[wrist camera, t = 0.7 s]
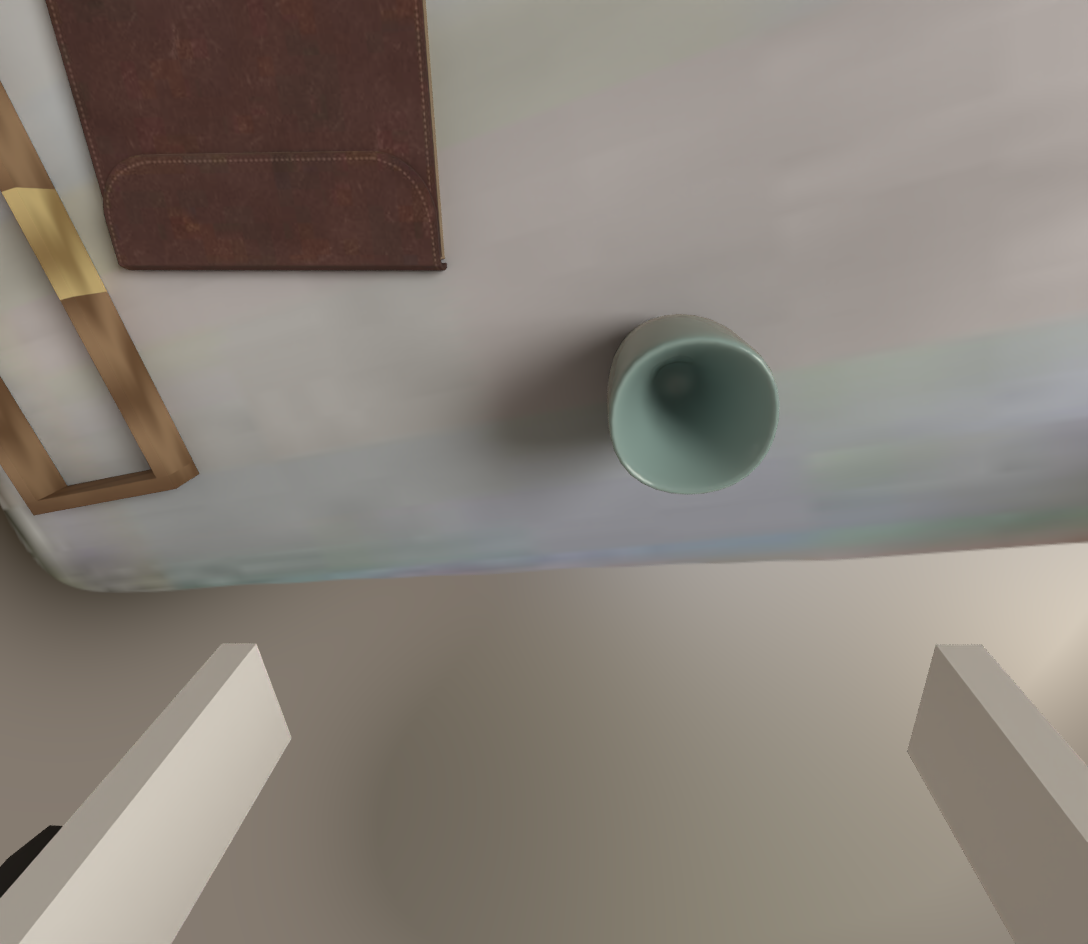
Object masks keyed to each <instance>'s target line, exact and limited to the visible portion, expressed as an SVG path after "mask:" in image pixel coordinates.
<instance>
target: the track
mask: <svg viewBox="0 0 1088 944" xmlns="http://www.w3.org/2000/svg"><path fill="white" fill-rule="evenodd" d="M0 190H1V192H2V194H3V195H4V197H5V199H6V201H7V203H8V205H9V207H10V208H11V210H12V212H13V214H14V216H15V218H16V220H17V221H18V223H19V225H20V227H21V229H22V231H23V232H24V234H25V236H26V238H27V240H28V242H29V244H30V245H31V247H32V249H33V251H34V253H35V255H36V256H37V258H38V260H39V262H40V264H41V266H42V268H43V269H44V271H45V273H46V275H47V277H48V279H49V281H50V282H51V284H52V286H53V288H54V290H55V292H56V293H57V295H58V297H59V299H60V301H61V303H62V305H63V306H64V308H65V310H66V312H67V314H68V316H69V317H70V319H71V321H72V323H73V325H74V327H75V329H76V330H77V332H78V334H79V336H80V338H81V340H82V342H83V343H84V345H85V347H86V349H87V351H88V353H89V354H90V356H91V358H92V360H93V362H94V364H95V366H96V367H97V369H98V371H99V373H100V375H101V377H102V378H103V380H104V382H105V384H106V386H107V388H108V390H109V391H110V393H111V395H112V397H113V399H114V401H115V403H116V404H117V406H118V408H119V410H120V412H121V414H122V415H123V417H124V419H125V421H126V423H127V425H128V427H129V428H130V430H131V432H132V434H133V436H134V438H135V439H136V441H137V443H138V445H139V447H140V449H141V451H142V452H143V454H144V456H145V458H146V460H147V462H148V464H149V465H150V467H151V470H146V471H141V472H136V473H131V474H126V475H121V476H115V477H110V478H105V479H100V480H95V481H90V482H85V483H80V484H74V485H69V486H67V485H66V483H65V482H64V480H63V478H62V477H61V475H60V473H59V472H58V470H57V468H56V467H55V465H54V464H53V462H52V460H51V459H50V457H49V455H48V454H47V452H46V451H45V449H44V447H43V446H42V444H41V442H40V441H39V439H38V437H37V436H36V434H35V433H34V431H33V429H32V428H31V426H30V424H29V423H28V421H27V419H26V418H25V416H24V415H23V413H22V411H21V410H20V408H19V406H18V405H17V403H16V401H15V400H14V398H13V397H12V395H11V393H10V392H9V390H8V388H7V387H6V385H5V384H4V382H3V380H2V379H1V377H0V464H1V466H2V468H3V469H4V471H5V472H6V474H7V475H8V477H9V478H10V480H11V481H12V483H13V484H14V486H15V487H16V489H17V491H18V492H19V494H20V495H21V497H22V498H23V500H24V501H25V503H26V504H27V506H28V507H29V509H30V510H31V512H32V514H33V515H38V514H43V513H49V512H54V511H59V510H65V509H70V508H76V507H81V506H86V505H92V504H97V503H102V502H108V501H113V500H118V499H124V498H129V497H134V496H140V495H145V494H150V493H156V492H161V491H167V490H172V489H176V488H178V487H179V486H181V485H183V484H184V483H186V482H187V481H189V480H190V479H192V478H193V477H195V476H197V475H198V474H199V472H198V470H197V468H196V466H195V464H194V462H193V460H192V458H191V456H190V454H189V452H188V450H187V448H186V446H185V444H184V442H183V441H182V439H181V437H180V435H179V433H178V431H177V429H176V427H175V425H174V423H173V421H172V419H171V417H170V415H169V413H168V411H167V409H166V407H165V405H164V403H163V401H162V399H161V397H160V395H159V393H158V391H157V389H156V387H155V385H154V383H153V381H152V379H151V377H150V375H149V373H148V371H147V369H146V367H145V366H144V364H143V362H142V360H141V358H140V356H139V354H138V352H137V350H136V348H135V346H134V344H133V342H132V340H131V338H130V336H129V334H128V332H127V330H126V328H125V326H124V324H123V322H122V320H121V318H120V316H119V314H118V312H117V310H116V308H115V306H114V304H113V302H112V300H111V298H110V296H109V294H108V293H107V291H106V289H105V287H104V285H103V283H102V281H101V279H100V277H99V275H98V273H97V271H96V269H95V267H94V265H93V263H92V261H91V259H90V257H89V255H88V253H87V251H86V249H85V247H84V245H83V243H82V241H81V239H80V237H79V235H78V233H77V231H76V229H75V227H74V225H73V223H72V221H71V220H70V218H69V216H68V214H67V212H66V210H65V208H64V206H63V204H62V202H61V200H60V198H59V196H58V194H57V192H56V190H55V188H54V186H53V184H52V182H51V180H50V178H49V176H48V174H47V172H46V170H45V168H44V166H43V164H42V162H41V160H40V158H39V156H38V154H37V152H36V150H35V148H34V147H33V145H32V143H31V141H30V139H29V137H28V135H27V133H26V131H25V129H24V127H23V125H22V123H21V121H20V119H19V117H18V115H17V113H16V111H15V109H14V107H13V105H12V103H11V101H10V99H9V97H8V95H7V93H6V91H5V89H4V87H3V85H2V83H1V81H0Z"/></svg>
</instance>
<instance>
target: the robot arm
mask: <svg viewBox="0 0 1088 944" xmlns="http://www.w3.org/2000/svg"><path fill="white" fill-rule="evenodd" d="M290 740H291V735H290V733H289V730H288V727H287V724H286V722H285V719H284V716H283V714H282V711H281V709H280V706H279V703H278V700H277V698H276V695H275V693H274V690H273V687H272V684H271V682H270V679H269V676H268V674H267V671H266V668H265V666H264V663H263V660H262V658H261V655H260V652H259V650H258V647H257V644H254V643H251V644H250V643H249V644H248V643H241V644H240V643H239V644H238V643H237V644H236V643H223V644H221V645H220V646H219V647H218V649H217V650H216V651H215V652H214V653H213V654H212V656H211V657H210V658H209V659H208V660H207V661H206V662H205V664H204V665H203V666H202V667H201V668H200V669H199V670H198V672H197V673H196V674H195V675H194V676H193V677H192V679H191V680H190V681H189V682H188V683H187V684H186V685H185V687H184V688H183V689H182V690H181V691H180V692H179V694H178V695H177V696H176V697H175V698H174V699H173V701H172V702H171V703H170V704H169V705H168V706H167V707H166V708H165V710H164V711H163V712H162V713H161V714H160V715H159V717H158V718H157V719H156V720H155V721H154V722H153V723H152V725H151V726H150V727H149V728H148V729H147V730H146V732H145V733H144V734H143V735H142V736H141V737H140V738H139V740H138V741H137V742H136V743H135V744H134V745H133V747H132V748H131V749H130V750H129V751H128V752H127V753H126V755H125V756H124V757H123V758H122V759H121V760H120V761H119V763H118V764H117V765H116V766H115V767H114V768H113V769H112V771H111V772H110V773H109V774H108V775H107V776H106V777H105V779H104V780H103V781H102V782H101V783H100V785H98V787H97V788H96V789H95V790H94V791H93V792H92V794H91V795H90V796H89V797H88V798H87V799H86V800H85V802H84V803H83V804H82V805H81V806H80V807H79V808H78V810H77V811H76V812H75V813H74V814H73V815H72V817H71V818H70V819H69V820H68V821H67V823H65V825H64V826H51V825H50V826H49V827H47V828H46V829H45V830H43V831H42V832H41V833H39V834H38V835H37V836H36V837H34V838H33V839H32V840H31V841H29V842H28V843H27V844H25V845H24V846H23V847H22V848H20V849H19V850H18V851H17V852H15V853H14V854H13V855H12V856H10V857H9V858H8V859H7V860H6V861H5V862H4V863H3V864H2V865H1V867H0V944H172V942H173V940H174V938H175V937H176V935H177V933H178V932H179V930H180V928H181V926H182V925H183V923H184V921H185V919H186V918H187V916H188V915H189V913H190V911H191V909H192V907H193V906H194V904H195V903H196V901H197V899H198V897H199V896H200V894H201V892H202V891H203V889H204V887H205V885H206V884H207V882H208V880H209V878H210V877H211V875H212V873H213V872H214V870H215V868H216V866H217V865H218V863H219V861H220V860H221V858H222V856H223V854H224V853H225V851H226V849H227V848H228V846H229V844H230V843H231V841H232V839H233V837H234V836H235V834H236V832H237V831H238V829H239V827H240V825H241V823H242V822H243V820H244V818H245V817H246V815H247V813H248V812H249V810H250V808H251V807H252V805H253V803H254V801H255V800H256V798H257V796H258V795H259V793H260V791H261V789H262V788H263V786H264V784H265V782H266V781H267V779H268V777H269V776H270V774H271V772H272V770H273V769H274V767H275V765H276V764H277V762H278V760H279V759H280V757H281V755H282V753H283V752H284V750H285V748H286V746H287V745H288V743H289V741H290ZM907 752H908V754H909V756H910V758H911V759H912V761H913V763H914V765H915V766H916V768H917V770H918V772H919V773H920V775H921V777H922V779H923V781H924V782H925V784H926V786H927V788H928V789H929V791H930V793H931V795H932V797H933V798H934V800H935V802H936V804H937V806H938V807H939V809H940V811H941V813H942V815H943V816H944V818H945V820H946V822H947V823H948V825H949V827H950V829H951V830H952V832H953V834H954V836H955V838H956V839H957V841H958V843H959V844H960V846H961V848H962V850H963V852H964V854H965V855H966V857H967V859H968V861H969V862H970V864H971V866H972V868H973V870H974V871H975V873H976V875H977V877H978V879H979V880H980V882H981V884H982V885H983V887H984V889H985V891H986V892H987V895H988V896H989V898H990V900H991V902H992V903H993V905H994V907H995V909H996V910H997V912H998V914H999V916H1000V918H1001V919H1002V921H1003V923H1004V925H1005V926H1006V928H1007V930H1008V932H1009V934H1010V935H1011V937H1012V939H1013V941H1014V942H1015V944H1088V766H1087V765H1086V764H1085V763H1084V761H1083V760H1082V759H1081V758H1080V757H1079V756H1078V755H1077V753H1076V752H1075V751H1074V750H1073V749H1072V748H1071V747H1070V745H1069V744H1068V743H1067V742H1066V741H1065V740H1064V738H1063V737H1062V736H1061V735H1060V734H1059V733H1058V732H1057V730H1056V729H1055V728H1054V727H1053V726H1052V725H1051V723H1050V722H1049V721H1048V720H1047V719H1046V718H1045V717H1044V716H1043V714H1042V713H1041V712H1040V711H1039V710H1038V709H1037V707H1036V706H1035V705H1034V704H1033V703H1032V702H1031V701H1030V699H1028V697H1027V696H1026V695H1025V694H1024V692H1023V691H1022V690H1021V689H1020V688H1019V687H1018V686H1017V685H1016V683H1015V682H1014V681H1013V680H1012V679H1011V678H1010V676H1009V675H1008V674H1007V673H1006V672H1005V671H1004V670H1003V669H1002V667H1001V666H1000V665H999V664H998V663H997V662H996V660H995V659H994V658H993V657H992V656H991V655H990V653H989V652H988V651H987V650H986V649H985V648H984V647H983V645H936V646H935V650H934V654H933V657H932V661H931V665H930V668H929V672H928V676H927V680H926V683H925V688H924V691H923V695H922V698H921V702H920V706H919V709H918V714H917V717H916V721H915V725H914V728H913V732H912V735H911V739H910V743H909V747H908V750H907Z"/></svg>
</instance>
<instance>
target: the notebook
mask: <svg viewBox="0 0 1088 944" xmlns="http://www.w3.org/2000/svg"><path fill="white" fill-rule="evenodd" d="M45 1H46V4H47V8H48V11H49V15H50V18H51V21H52V25H53V28H54V32H55V35H56V39H57V42H58V46H59V49H60V52H61V56H62V59H63V63H64V66H65V70H66V73H67V76H68V80H69V83H70V87H71V90H72V94H73V97H74V100H75V104H76V107H77V111H78V114H79V118H80V121H81V125H82V128H83V131H84V135H85V138H86V142H87V145H88V149H89V152H90V155H91V159H92V162H93V166H94V169H95V173H96V176H97V179H98V183H99V186H100V190H101V193H102V197H103V208H104V215H105V219H106V223H107V226H108V230H109V233H110V236H111V240H112V243H113V246H114V250H115V253H116V256H117V260H118V263H119V265H120V266H121V267H124V268H126V269H128V270H446V268H447V264H446V263H441V259H445V257H444V244H443V230H442V217H441V203H440V190H439V176H438V163H437V149H436V135H435V122H434V108H433V95H432V81H431V68H430V54H429V41H428V27H427V13H426V0H45Z"/></svg>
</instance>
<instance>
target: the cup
mask: <svg viewBox="0 0 1088 944" xmlns="http://www.w3.org/2000/svg"><path fill="white" fill-rule="evenodd" d="M607 415H608V429H609V434H610V438H611V441H612V445H613V449H614V451H615V453H616V455H617V457H618V459H619V461H620V463H621V464H622V465H623V466H624V468H625V469H626V470H627V471H628V472H629V474H630V475H632V476H633V477H634V478H636V479H637V480H638V481H640V482H641V483H643V484H645V485H647V486H649V487H652V488H654V489H656V490H660V491H664V492H668V493H675V494H687V495H688V494H704V493H708V492H713V491H718V490H721V489H724V488H726V487H729V486H731V485H734V484H736V483H737V482H739V481H740V480H742V479H744V478H745V477H747V476H748V475H749V474H750V473H751V472H752V471H753V470H754V469H755V468H756V467H757V466H758V465H759V464H760V463H761V461H762V460H763V459H764V457H765V456H766V454H767V453H768V451H769V449H770V446H771V444H772V442H773V440H774V437H775V434H776V429H777V425H778V421H779V397H778V390H777V385H776V382H775V380H774V377H773V374H772V372H771V370H770V368H769V367H768V365H767V364H766V362H765V361H764V360H763V358H762V357H761V355H760V354H759V353H758V352H757V351H756V350H755V349H753V348H752V347H751V346H750V345H749V344H748V343H746V342H745V341H744V340H743V339H742V338H740V337H739V336H738V335H737V334H736V333H734V332H733V331H732V330H730V329H729V328H727V327H725V326H723V325H721V324H719V323H717V322H715V321H713V320H711V319H708V318H704V317H700V316H696V315H686V314H674V315H665V316H661V317H657V318H654V319H651V320H649V321H647V322H645V323H643V324H641V325H639V326H638V327H636V328H635V329H634V330H633V331H631V332H630V333H629V334H628V335H627V336H626V338H625V339H624V340H623V341H622V343H621V344H620V346H619V348H618V350H617V352H616V354H615V356H614V358H613V362H612V365H611V369H610V372H609V378H608V388H607Z"/></svg>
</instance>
